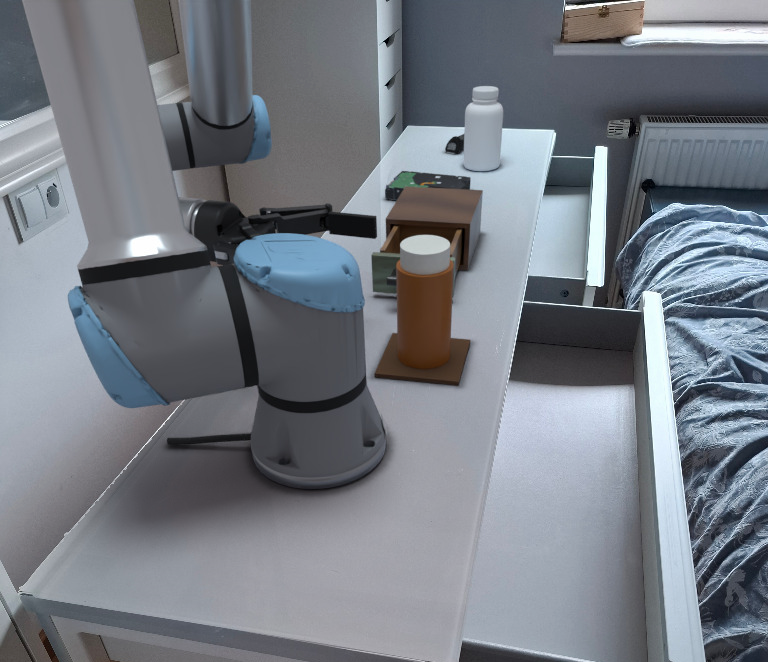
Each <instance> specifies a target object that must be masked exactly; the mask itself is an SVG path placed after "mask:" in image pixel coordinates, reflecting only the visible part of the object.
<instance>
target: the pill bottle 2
mask: <svg viewBox="0 0 768 662" xmlns="http://www.w3.org/2000/svg"><path fill="white" fill-rule="evenodd" d="M499 92H500V89H499V88H498V87H497V86H494V85H493V86H491V85H479V86H475V87H473V88H472V98H471V101H472V102H470V103H469V104H468V105H467V106H466V108H465V111H464V130H463V131H464V133H463V134H464V148H463V161H462V162H463V167H464V168H465V169H467V170H470V171H474V172H488V171H493V170H496V169H498V168H499V167H500V164H501V152H502V138H503V122H504V108H503V105H502V104H501V103H500V102H498V100H499V94H500V93H499Z"/></svg>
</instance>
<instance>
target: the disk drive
mask: <svg viewBox="0 0 768 662" xmlns="http://www.w3.org/2000/svg"><path fill="white" fill-rule="evenodd" d="M405 187H425V188H446V189H467V190H471V176H465V175H452V174H441V173H432V172H431V173H430V172H420V171H410V170H409V171H408V170H401V171H400V172H399V173H398V174H397V175H396V176H394V177H393V180H391V181H390V182H389V183H388V184H386V185H385V189H384V198H385V199H388V200H391V201H397V199H398V198H399V196H400V194H401V193H402V191H403V190H404V188H405Z"/></svg>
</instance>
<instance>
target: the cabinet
mask: <svg viewBox="0 0 768 662" xmlns="http://www.w3.org/2000/svg"><path fill="white" fill-rule="evenodd" d="M483 193H484V190H483V189H469V190H467V189H446V188H425V187H405V188H404V190H403V191H402V193H401V194H400V196H399V198H398V199H397V200H395V203H394V204H393V206H392V208H391V209H390V211H389V212H388V214H387V215H386V217H385V240H386V239H387V237H388V235H389V234H390V232H391V230H392V228H393V227H394V225H395V224H399V225H417V226H434V227H452V228H464V231H463V252H462V259H461V262H460V265H459V267H458V270H457V271H468V270H469V268H470V265H471V262H472V260H473V256H474V254H475V250H476V247H477V244H478V242H479V239H480V236H481V225H482V211H483Z"/></svg>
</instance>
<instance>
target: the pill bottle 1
mask: <svg viewBox="0 0 768 662" xmlns="http://www.w3.org/2000/svg"><path fill="white" fill-rule="evenodd" d="M453 268H454V264H453V262H452V260H450V242H449V241H448V240H447V239H445V238H443V237H439V236H434V235H417V236H412V237H409V238H406V239H404V240H403V241H402V242H401V244H400V260H399V261H398V262H397V264H396V281H397V294H396V333H397V342H398V359H399V360H400V362H401V363H403V364H404V365H406V366H409V367H412V368H417V369H431V368H436V367H439V366H441V365H443V364H445V363H446V362H447V361H448V360H449V358H450V345H451V338H452V319H453V318H452V317H453V298H452V294H453Z"/></svg>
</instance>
